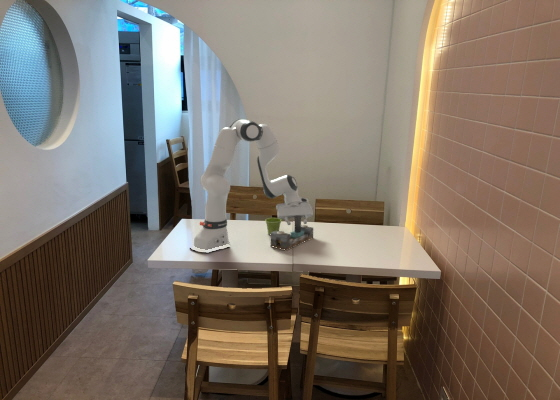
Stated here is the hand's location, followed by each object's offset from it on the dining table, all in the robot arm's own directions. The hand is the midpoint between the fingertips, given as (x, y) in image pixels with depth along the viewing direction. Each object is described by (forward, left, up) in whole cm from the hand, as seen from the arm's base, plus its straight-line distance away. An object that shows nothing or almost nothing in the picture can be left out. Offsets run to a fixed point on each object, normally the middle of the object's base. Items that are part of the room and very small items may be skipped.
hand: (297, 224), depth 256 cm
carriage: (-1, -1, -7) cm, 7 cm away
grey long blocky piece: (-5, -1, -9) cm, 11 cm away
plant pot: (0, +16, -9) cm, 19 cm away
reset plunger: (-15, -1, -7) cm, 16 cm away
